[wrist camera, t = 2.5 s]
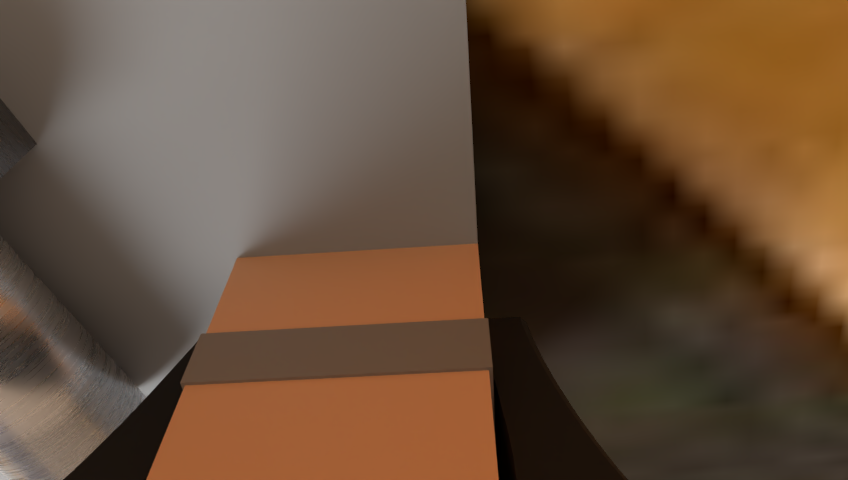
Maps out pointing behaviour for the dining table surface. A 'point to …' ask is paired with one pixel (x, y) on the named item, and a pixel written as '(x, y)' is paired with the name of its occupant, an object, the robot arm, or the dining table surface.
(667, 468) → the dining table surface
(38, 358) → the output shaft
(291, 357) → the taped shipping carton
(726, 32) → the dining table surface
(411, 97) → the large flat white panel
